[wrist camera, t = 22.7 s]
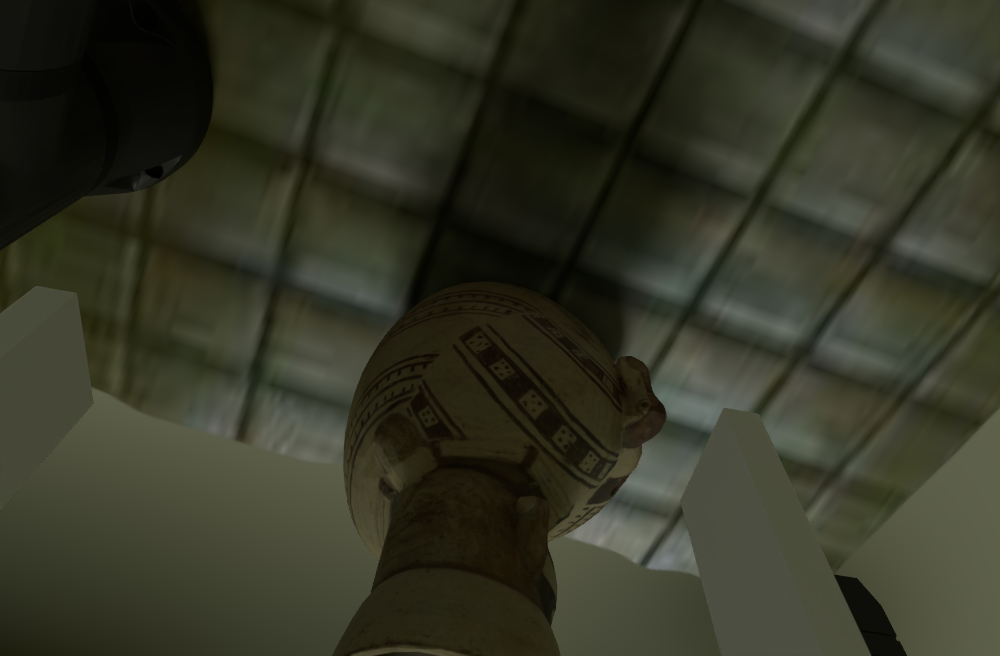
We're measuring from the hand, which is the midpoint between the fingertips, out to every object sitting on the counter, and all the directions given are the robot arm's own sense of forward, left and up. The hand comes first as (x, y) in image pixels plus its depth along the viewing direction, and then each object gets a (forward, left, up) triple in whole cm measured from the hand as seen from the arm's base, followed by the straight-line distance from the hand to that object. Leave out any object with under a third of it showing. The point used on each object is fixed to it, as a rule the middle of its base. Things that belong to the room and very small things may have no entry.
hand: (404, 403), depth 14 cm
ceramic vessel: (+5, -21, -35) cm, 41 cm away
